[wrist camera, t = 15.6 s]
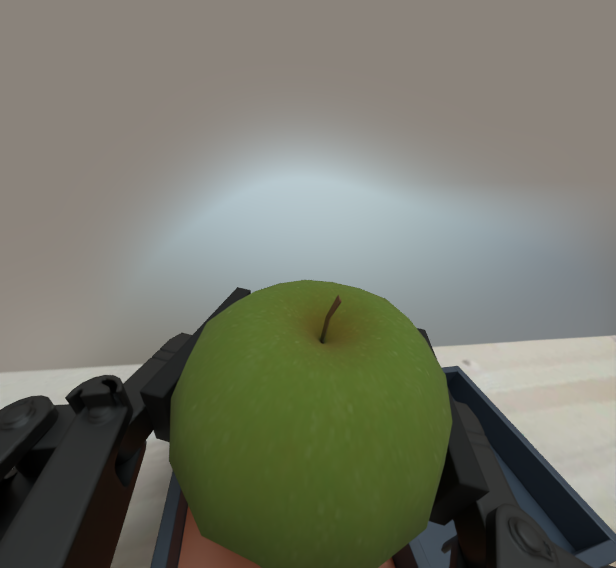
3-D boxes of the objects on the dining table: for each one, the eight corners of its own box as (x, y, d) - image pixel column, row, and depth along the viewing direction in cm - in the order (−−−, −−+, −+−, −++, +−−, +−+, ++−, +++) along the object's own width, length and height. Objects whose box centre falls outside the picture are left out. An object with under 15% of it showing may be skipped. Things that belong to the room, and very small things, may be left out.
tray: (121, 793, 7) (90, 823, 6) (194, 417, 17) (190, 393, 15) (590, 566, 13) (633, 552, 12) (444, 385, 23) (458, 365, 21)
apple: (324, 386, 17) (366, 237, 11) (410, 541, 10) (610, 378, 5) (194, 429, 13) (158, 239, 7) (203, 709, 7) (5, 874, 1)
